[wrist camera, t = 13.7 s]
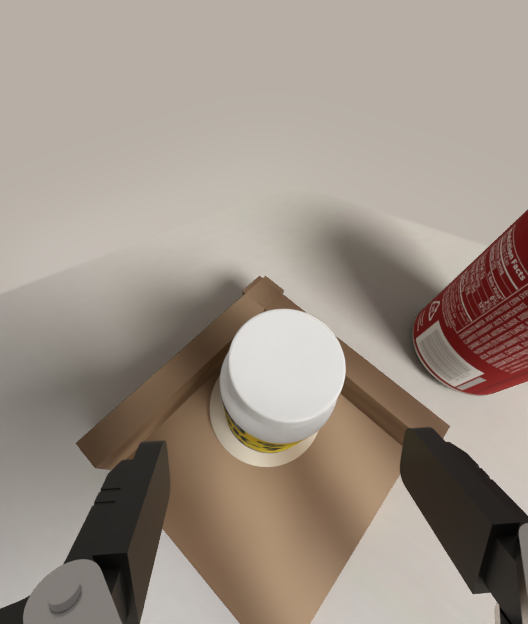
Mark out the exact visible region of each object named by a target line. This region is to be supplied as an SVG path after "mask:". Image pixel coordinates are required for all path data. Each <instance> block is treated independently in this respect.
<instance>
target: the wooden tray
mask: <svg viewBox="0 0 528 624" xmlns="http://www.w3.org/2000/svg"><path fill="white" fill-rule="evenodd" d="M283 292H284V290H283V289H282V288H280V287H279V286H278V285H277V284H275V283H274V282H273V281H271V280H270V279H269V278H268V277H266V276H265V277H264V278H262V277H260V276H259V277H258V278H256V279H255V280H254V281H253V282H252V283H251V284H250V285H248V286H247V287H246V288H245V289H244V290H243V296H242V297H241V298H240V299H239V300H238V301H236V302H235V303H234V304H233V305H232V306H231V307H230V308H228V309H227V310H226V311H225V312H224V313H223V314H222V315H221V316H219V317H218V318H217V319H216V320H215V321H214V322H213V323H211V324H210V325H209V326H208V327H207V328H206V329H205V330H204V331H202V332H201V333H200V334H199V335H198V336H197V337H196V338H194V339H193V340H192V341H191V342H190V343H189V344H188V345H187V346H185V347H184V348H183V349H182V350H181V351H180V352H179V353H177V354H176V355H175V356H174V357H173V358H172V359H171V360H170V361H168V362H167V363H166V364H165V365H164V366H163V367H162V368H160V369H159V370H158V371H157V372H156V373H155V374H154V375H153V376H151V377H150V378H149V379H148V380H147V381H146V382H145V383H143V384H142V385H141V386H140V387H139V388H138V389H137V390H136V391H134V392H133V393H132V394H131V395H130V396H129V397H128V398H126V399H125V400H124V401H123V402H122V403H121V404H120V405H119V406H117V407H116V408H115V409H114V410H113V411H112V412H111V413H109V414H108V415H107V416H106V417H105V418H104V419H103V420H102V421H100V422H99V423H98V424H97V425H96V426H95V427H94V428H92V429H91V430H90V431H89V432H88V433H87V434H86V435H85V436H83V437H82V438H81V439H80V440H79V441H78V442H77V443H76V445H77V446H78V447H79V448H80V450H81V451H82V452H83V453H84V455H85V456H86V457H87V458H88V460H89V461H90V462H91V463H92V465H93V466H94V467H95V468H100V469H110V470H112V469H113V468H114V467H115V466H116V465H117V464H118V463H119V462H120V461H121V460H132V459H133V458H134V456H135V453H136V451H137V449H138V446H139V444H140V443H141V442H142V441H161V440H165V441H166V443H167V451H168V461H169V471H170V495H169V501H168V506H167V510H166V514H165V518H164V523H163V527H162V529H163V530H164V531H165V532H166V533H167V535H168V536H169V537H170V538H171V540H172V541H173V542H174V543H175V545H176V546H177V547H178V548H179V549H180V551H181V552H182V553H183V554H184V556H185V557H186V558H187V559H188V560H189V562H190V563H191V564H192V565H193V567H194V568H195V569H196V570H197V571H198V573H199V574H200V575H201V576H202V578H203V579H204V580H205V581H206V583H207V584H208V585H209V586H210V587H211V589H212V590H213V591H214V592H215V594H216V595H217V596H218V597H219V598H220V600H221V601H222V602H223V603H224V605H225V606H226V607H227V608H228V609H229V611H230V612H231V613H232V614H233V616H234V617H235V618H236V619H237V621H238V622H239V623H240V624H310V623H311V621H312V619H313V618H314V616H315V614H316V613H317V611H318V609H319V608H320V606H321V604H322V603H323V601H324V599H325V598H326V596H327V594H328V593H329V591H330V589H331V588H332V586H333V585H334V583H335V581H336V580H337V578H338V576H339V575H340V573H341V571H342V570H343V568H344V566H345V565H346V563H347V561H348V560H349V558H350V556H351V555H352V553H353V551H354V550H355V548H356V546H357V545H358V543H359V541H360V540H361V538H362V536H363V535H364V533H365V531H366V530H367V528H368V526H369V525H370V523H371V521H372V520H373V518H374V516H375V515H376V513H377V511H378V510H379V508H380V506H381V505H382V503H383V501H384V500H385V498H386V496H387V495H388V493H389V491H390V490H391V488H392V486H393V485H394V483H395V482H396V480H397V478H398V477H399V475H400V460H401V453H402V447H403V441H404V434H405V431H406V429H408V428H420V427H431V428H433V429H434V430H435V431H436V432H437V433H438V434H439V435H440V436H441V437H442V438H444V436H445V434H446V432H447V431H448V429H449V427H450V426H449V425H448V424H447V423H445V422H444V421H443V420H442V419H440V418H439V417H438V416H436V415H435V414H434V413H433V412H431V411H430V410H429V409H428V408H426V407H425V406H424V405H423V404H421V403H420V402H419V401H417V400H416V399H415V398H414V397H412V396H411V395H410V394H409V393H407V392H406V391H405V390H404V389H402V388H401V387H400V386H398V385H397V384H396V383H395V382H393V381H392V380H391V379H390V378H388V377H387V376H386V375H385V374H383V373H382V372H381V371H379V370H378V369H377V368H376V367H374V366H373V365H372V364H371V363H369V362H368V361H367V360H366V359H364V358H363V357H362V356H360V355H359V354H358V353H357V352H355V351H354V350H353V349H352V348H350V347H349V346H348V345H347V344H345V343H344V342H343V341H341V340H340V339H339V338H338V337H336V338H337V340H338V341H339V343H340V345H341V348H342V350H343V353H344V357H345V366H346V373H345V380H344V384H343V387H342V390H341V392H340V394H339V396H338V398H337V401H336V405H335V407H334V410H333V412H332V414H331V416H330V417H329V419H328V420H327V422H326V423H325V424H324V425H323V426H322V427H321V428H320V429H319V430H318V431H317V432H316V433H314V434H313V435H311V436H310V437H308V438H307V439H305V440H303V441H301V442H300V443H298V444H296V445H295V446H293V447H291V448H289V449H287V450H285V451H282V452H278V453H270V454H267V453H260V452H257V451H254V450H251V449H249V448H248V447H246V446H244V445H243V444H242V443H240V442H239V441H238V440H237V439H236V437H235V436H234V435H233V433H232V432H231V430H230V428H229V426H228V423H227V419H226V415H225V411H224V407H223V402H222V398H221V392H220V373H221V368H222V365H223V362H224V359H225V357H226V355H227V353H228V352H229V349H230V346H231V343H232V340H233V338H234V337H235V335H236V333H237V332H238V331H239V329H240V328H241V327H242V326H243V325H244V324H245V323H246V322H247V321H248V320H250V319H251V318H253V317H254V316H256V315H258V314H260V313H263V312H265V311H269V310H274V309H293V310H298V311H302V312H305V311H303V310H302V309H301V308H300V307H298V306H297V305H296V304H295V303H293V302H292V301H291V300H289V299H288V298H287V297H286V296H284V295H283ZM305 313H306V312H305Z"/></svg>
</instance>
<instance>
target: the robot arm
mask: <svg viewBox="0 0 528 624" xmlns="http://www.w3.org/2000/svg"><path fill="white" fill-rule="evenodd" d="M400 474H401V478H402V481H403V483H404V485H405V487H406V489H407V490H408V492H409V493H410V495H411V496H412V498H413V500H414V501H415V503H416V504H417V506H418V508H419V509H420V511H421V512H422V514H423V516H424V517H425V519H426V520H427V522H428V524H429V525H430V527H431V528H432V530H433V531H434V533H435V535H436V536H437V538H438V539H439V541H440V543H441V544H442V546H443V547H444V549H445V551H446V552H447V554H448V555H449V557H450V559H451V560H452V562H453V563H454V565H455V566H456V568H457V570H458V571H459V573H460V574H461V576H462V578H463V579H464V581H465V582H466V584H467V586H468V587H469V589H470V590H471V592H472V594H480V593H490V592H491V594H492V595H493V597H494V598H495V600H496V601H497V603H496V606H495V624H528V516H527V515H526V513H525V512H524V511H523V510H522V509H521V508H520V507H519V506H518V505H517V504H516V503H515V502H514V501H513V500H512V499H511V498H510V497H509V496H508V495H507V494H506V493H505V492H504V491H503V490H502V489H501V488H500V487H499V486H498V485H497V484H496V483H495V482H494V481H493V480H491V479H490V478H489V476H488V475H487V474H486V473H485V471H484V470H483V469H482V468H479V465H478V464H477V463H476V462H475V461H474V460H473V459H472V458H471V457H470V456H469V455H468V454H467V453H466V452H464V451H463V450H461V449H460V448H458V447H456V446H455V445H453V444H452V443H450V442H445V441H444V440H443V438H442V437H441V436H440V435H439V434H438V433H437V432H436V431H435V430H434V429H433V428H431V427H420V428H408V429H406V431H405V434H404V441H403V447H402V453H401V460H400ZM169 495H170V471H169V461H168V451H167V443H166V441H165V440H161V441H142V442H141V443H140V444H139V446H138V449H137V451H136V453H135V456H134V458H133V459H132V460H121V461H120V462H119V463H118V464H117V465H116V466H115V467H114V468H113V469H112V470H111V471H110V472H109V473H108V475H107V477H106V480H105V482H104V484H103V486H102V488H101V492H99V494H98V496H97V498H96V500H95V502H94V506H92V508H91V510H90V512H89V514H88V516H87V518H86V520H85V522H84V524H83V526H82V528H81V530H80V532H79V534H78V536H77V538H76V540H75V542H74V544H73V546H72V548H71V550H70V552H69V554H68V556H67V558H66V560H65V562H64V564H63V565H62V566H60V567H58V568H56V569H55V570H54V571H52V572H51V573H50V574H48V575H47V576H46V577H45V578H44V579H43V580H42V581H41V582H40V583H39V584H38V585H37V587H36V588H35V589H34V591H33V592H32V594H31V595H30V596H28V597H27V598H25V599H23V600H21V601H18V602H16V603H14V604H11V605H9V606H6V607H4V608H1V609H0V624H140V620H141V616H142V612H143V608H144V603H145V599H146V595H147V591H148V586H149V582H150V578H151V574H152V569H153V565H154V561H155V557H156V552H157V548H158V544H159V540H160V535H161V531H162V527H163V523H164V518H165V514H166V510H167V506H168V501H169Z"/></svg>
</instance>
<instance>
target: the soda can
mask: <svg viewBox="0 0 528 624" xmlns="http://www.w3.org/2000/svg"><path fill="white" fill-rule="evenodd" d="M412 340H413V345H414V348H415V351H416V353H417V355H418V357H419V359H420V361H421V362H422V364H423V365H424V367H425V368H426V369H427V370H428V371H429V372H430V374H431V375H432V376H434V377H435V378H436V379H437V380H438V381H440V382H441V383H442V384H444V385H446V386H447V387H449V388H451V389H453V390H455V391H458V392H461V393H464V394H468V395H476V396H482V395H489V394H493V393H496V392H498V391H501V390H504V389H507V388H510V387H513V386H515V385H518V384H521V383H524V382H527V381H528V210H527V211H526V212H525V213H524V214H523V215H522V216H521V217H519V218H518V219H517V220H516V221H515V222H514V223H513V224H512V225H511V226H510V227H509V228H508V229H507V230H506V231H505V232H504V233H503V234H502V235H501V236H499V237H498V238H497V239H496V240H495V241H494V242H493V243H492V244H491V245H490V246H489V247H488V248H487V249H486V250H485V251H484V252H483V253H482V254H481V255H479V256H478V257H477V258H476V259H475V260H474V261H473V262H472V263H471V264H470V265H469V266H468V267H467V268H466V269H465V270H464V271H463V272H462V273H461V274H459V275H458V276H457V277H456V278H455V279H454V280H453V281H452V282H451V283H450V284H449V285H448V286H447V287H446V288H445V289H444V290H443V291H442V292H441V293H439V294H438V295H437V296H436V297H435V298H434V299H433V300H432V301H431V302H430V303H429V304H428V305H427V306H426V307H425V308H424V309H423V310H422V311H421V312H420V313H419V314H418V315H417V317H416V319H415V321H414V324H413V328H412Z"/></svg>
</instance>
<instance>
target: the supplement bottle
mask: <svg viewBox="0 0 528 624" xmlns="http://www.w3.org/2000/svg"><path fill="white" fill-rule="evenodd" d="M345 373H346V366H345V357H344V353H343V350H342V348H341V345H340V343H339V341H338V340H337V338H336V336H335V335H334V334H333V332H332V331H331V330H330V329H329V328H328V327H327V326H326V325H325V324H324V323H323V322H321V321H320V320H318V319H317V318H315V317H314V316H312V315H310V314H307V313H305V312H302V311H298V310H293V309H274V310H269V311H265V312H263V313H260V314H258V315H256V316H254V317H253V318H251V319H250V320H248V321H247V322H246V323H245V324H244V325H243V326H242V327H241V328H240V329H239V331H238V332H237V333H236V335H235V337H234V338H233V340H232V343H231V346H230V349H229V352H228V353H227V355H226V357H225V359H224V362H223V365H222V368H221V373H220V392H221V398H222V402H223V407H224V411H225V415H226V419H227V423H228V426H229V428H230V430H231V432H232V433H233V435H234V436H235V437H236V439H237V440H238V441H239V442H240V443H242V444H243V445H244V446H246V447H248V448H249V449H251V450H254V451H257V452H260V453H267V454H270V453H278V452H282V451H285V450H287V449H289V448H291V447H293V446H295V445H296V444H298V443H300V442H301V441H303V440H305V439H307V438H308V437H310V436H311V435H313V434H314V433H316V432H317V431H318V430H319V429H320V428H321V427H322V426H323V425H324V424H325V423H326V422H327V420H328V419H329V417H330V416H331V414H332V412H333V410H334V407H335V405H336V401H337V398H338V396H339V394H340V392H341V390H342V387H343V384H344V380H345Z"/></svg>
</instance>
